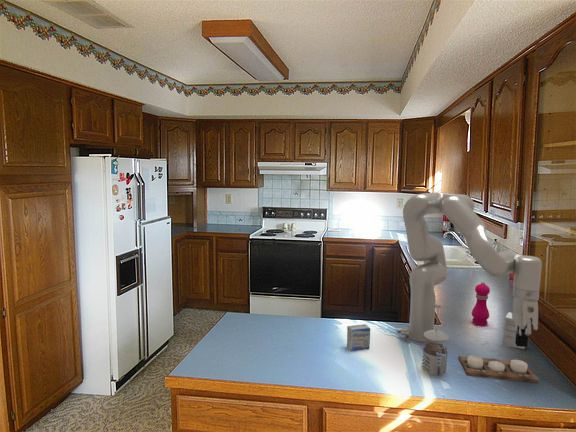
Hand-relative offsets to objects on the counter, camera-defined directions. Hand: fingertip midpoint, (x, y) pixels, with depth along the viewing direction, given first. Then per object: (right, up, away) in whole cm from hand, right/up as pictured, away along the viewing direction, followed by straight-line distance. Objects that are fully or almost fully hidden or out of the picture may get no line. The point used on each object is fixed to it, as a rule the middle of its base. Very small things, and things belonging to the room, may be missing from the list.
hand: (521, 345), depth 136 cm
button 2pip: (0, -10, +1) cm, 10 cm away
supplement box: (+11, -8, +24) cm, 28 cm away
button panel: (-7, -11, +3) cm, 13 cm away
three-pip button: (-14, -9, +4) cm, 17 cm away
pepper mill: (+8, -5, +47) cm, 48 cm away
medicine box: (-51, -8, +21) cm, 56 cm away
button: (-7, -10, +3) cm, 13 cm away
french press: (-29, -11, +2) cm, 31 cm away
